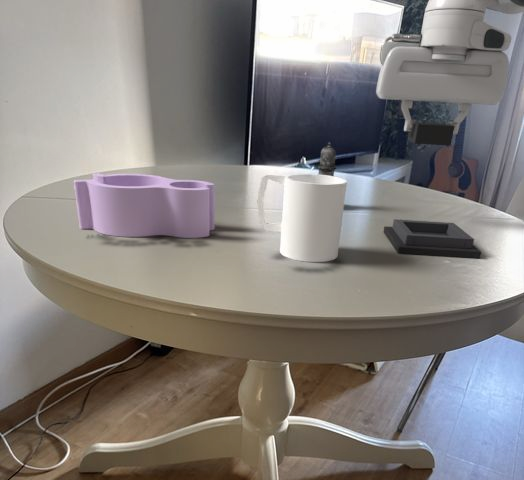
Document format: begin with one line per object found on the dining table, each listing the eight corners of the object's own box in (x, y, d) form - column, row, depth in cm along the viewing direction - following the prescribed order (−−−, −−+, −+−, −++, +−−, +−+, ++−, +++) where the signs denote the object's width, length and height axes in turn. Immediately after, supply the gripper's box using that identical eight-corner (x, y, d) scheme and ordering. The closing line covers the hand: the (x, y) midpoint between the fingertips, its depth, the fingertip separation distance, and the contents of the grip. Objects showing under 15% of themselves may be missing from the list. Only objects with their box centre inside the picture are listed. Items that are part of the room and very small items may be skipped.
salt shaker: (315, 201, 100) (321, 139, 94) (341, 206, 97) (349, 142, 92) (303, 206, 95) (308, 141, 90) (330, 211, 93) (337, 144, 87)
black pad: (440, 142, 85) (444, 123, 84) (450, 145, 80) (454, 125, 78) (407, 140, 85) (410, 121, 84) (414, 143, 80) (418, 123, 79)
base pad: (454, 236, 80) (458, 221, 79) (480, 258, 70) (484, 241, 69) (383, 232, 80) (385, 217, 79) (397, 253, 70) (401, 236, 69)
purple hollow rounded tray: (219, 223, 80) (220, 180, 77) (202, 243, 69) (202, 194, 66) (105, 213, 82) (100, 171, 79) (70, 232, 71) (64, 183, 68)
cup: (263, 238, 73) (266, 169, 68) (341, 248, 70) (350, 177, 66) (246, 253, 66) (249, 177, 61) (332, 265, 64) (342, 186, 59)
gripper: (386, 30, 73) (372, 130, 79) (522, 37, 72) (496, 137, 79) (380, 34, 78) (367, 127, 85) (506, 41, 78) (483, 134, 84)
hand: (430, 132), depth 82 cm, fingers closed on black pad, 6 cm apart
